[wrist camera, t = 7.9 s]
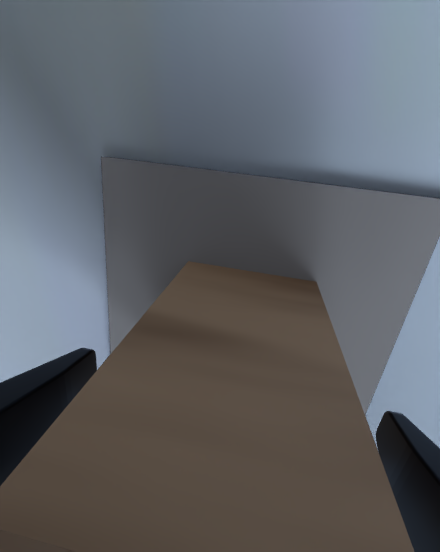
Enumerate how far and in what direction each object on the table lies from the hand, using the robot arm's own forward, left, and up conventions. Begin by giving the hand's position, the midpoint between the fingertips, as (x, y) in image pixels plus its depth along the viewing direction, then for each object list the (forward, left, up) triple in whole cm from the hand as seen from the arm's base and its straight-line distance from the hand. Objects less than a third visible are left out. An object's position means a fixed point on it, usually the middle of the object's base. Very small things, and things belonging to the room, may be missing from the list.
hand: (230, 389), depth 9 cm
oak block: (0, 0, -4) cm, 4 cm away
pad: (0, 0, -4) cm, 4 cm away
